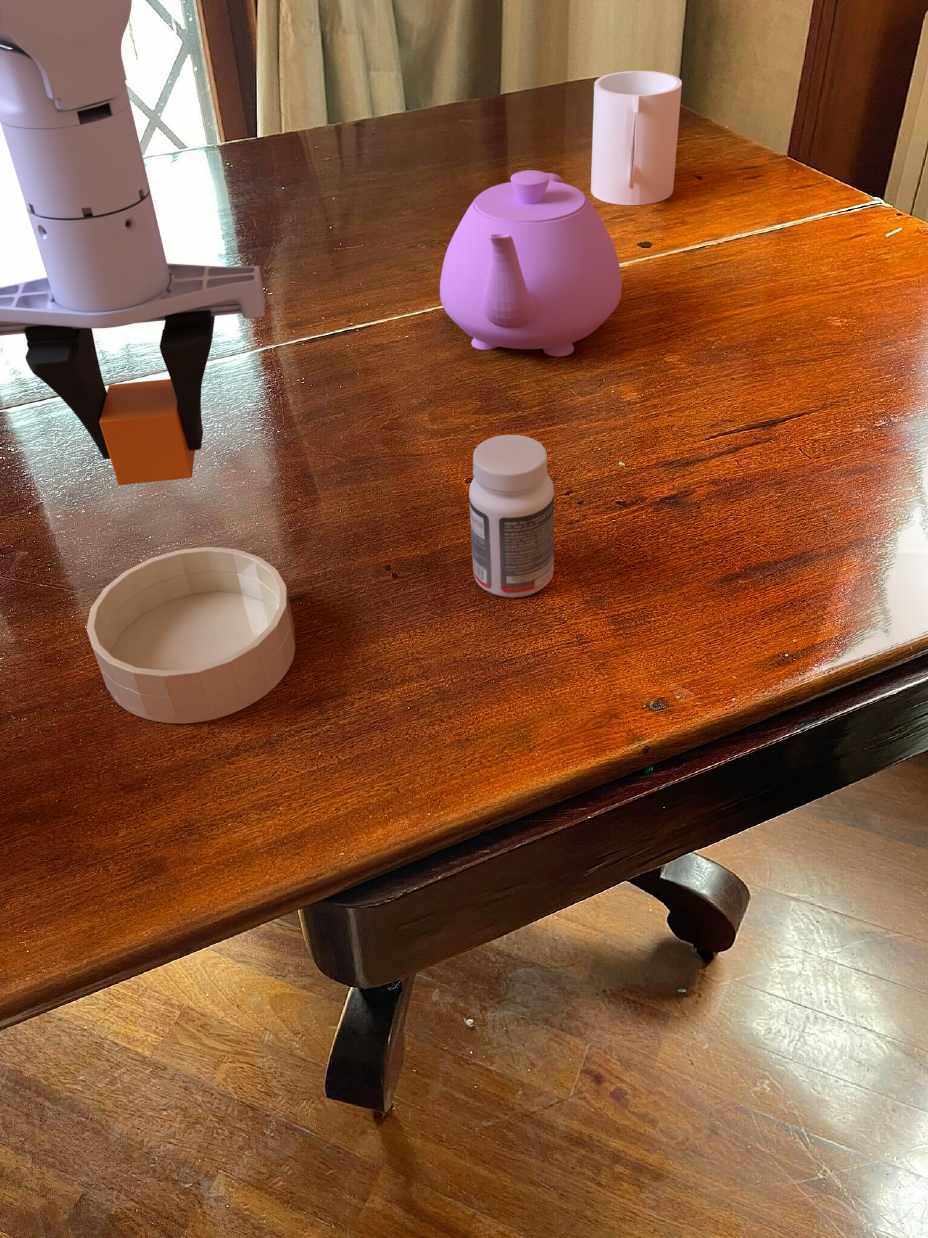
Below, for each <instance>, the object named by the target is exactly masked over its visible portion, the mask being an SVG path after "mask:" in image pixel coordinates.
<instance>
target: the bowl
mask: <svg viewBox="0 0 928 1238" xmlns="http://www.w3.org/2000/svg"><path fill="white" fill-rule="evenodd" d="M289 598H290V597H289V592H288V588H287V585H286V583H285V582H284V579H283V578H282V576H281V574H280V572H279V570H278V569H277V568H276V567H274V566H273V565H271V564H270V563H269V562H267V561H266V560H265V559H263V558H262V557H260V556H258V555H255V554H252V553H249V552H246V551H243V550H240V549H236V548H229V547H216V546H203V547H194V548H183V549H177V550H174V551H171V552H168V553H164V554H161V555H157V556H154V557H151V558H149V559H146V560H145V561H143V562H141V563H138V564H136V565H134V566H133V567H131V568H129V569H127V570H125V571H123V572H122V573H121V574H120V575H118V576H117V577H116V578H115V579H114V580H112V581H111V582H110V583H109V584H108V585H107V586H105V587H104V588H103V589H102V590H101V592H100V593H99V595H98V596H97V598H96V600H95V601H94V603H93V604H92V605H91V607H90V609H89V614H88V619H87V625H86V633H87V635H88V638H89V642H90V645H91V648H92V651H93V654H94V657H95V660H96V662H97V664H98V667H99V670H100V673H101V675H102V679H103V682H104V684H105V687H106V689H107V691H108V692H109V694H110V696H111V698H112V699H114V701H115V702H116V703H117V704H118V705H119V706H121V708H123V709H124V710H125V711H127V712H129V713H130V714H132V715H134V716H137V717H139V718H142V719H144V720H148V721H153V722H156V723H163V724H181V725H183V724H195V723H202V722H203V723H204V722H209V721H212V720H213V721H214V720H216V719H219V718H220V719H221V718H224V717H226V716H229V715H232V714H235V713H237V712H239V711H242V710H243V709H246V708H247V707H250V706H251V705H253V704H254V703H256V702H258V701H259V700H261V699H262V698H264V697H265V696H266V695H268V694H269V693H270V692H271V691H272V690H273V689H274V688H275V687H277V685H279V683H280V682H281V681H282V680H283V679H284V677H285V676H286V674H287V673H288V672H289V669H290V667H291V665H292V663H293V661H294V657H295V653H296V644H297V642H296V633H295V624H294V618H293V614H292V609H291V602H290V599H289Z"/></svg>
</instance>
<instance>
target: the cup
mask: <svg viewBox="0 0 928 1238" xmlns="http://www.w3.org/2000/svg"><path fill="white" fill-rule="evenodd" d="M682 86H683V82H682V79H680V78H679V77H678V76H675V75H673V74H670V73H667V72H661V71H653V70H626V71H618V72H612V73H608V74H605V75H602V76H600V77H598V78H597V79H596V80H595V81H594V83H593V115H592V143H591V169H590V170H591V171H590V173H591V174H590V193H591V195H592V196H593V197H594V198H596V199H597V200H599V201H601V202H604V203H609V204H613V205H618V206H644V205H652V204H656V203H659V202H663V201H665V200H666V199H668V198H670V197H671V196H672V194H673V193H674V185H675V184H674V183H675V171H676V162H677V161H676V159H677V148H678V147H677V146H678V137H679V136H678V135H679V123H680V112H681V111H680V109H681V99H682V98H681V97H682Z"/></svg>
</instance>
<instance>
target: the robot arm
mask: <svg viewBox="0 0 928 1238" xmlns="http://www.w3.org/2000/svg"><path fill="white" fill-rule="evenodd" d="M132 4H133V0H0V126H1V130H2V132H3V135H4V139H5V141H6V145H7V148H8V152H9V155H10V158H11V162H12V165H13V168H14V171H15V175H16V179H17V181H18V185H19V188H20V191H21V195H22V198H23V201H24V204H25V208H26V212H27V215H28V218H29V222H30V225H31V227H32V232H33V235H34V238H35V241H36V244H37V248H38V251H39V254H40V257H41V259H42V264H43V268H44V271H45V274H46V276H45V277H40V278H35V279H33V280H27V281H22V282H17V283H14V284H9V285H6V286H1V287H0V337H3V336H13V335H22V334H23V335H25V339H26V346H27V352H26V354H25V361H26V364H27V365H28V367H29V369H30V371H31V372H32V374H33V375H34V376H36V377H37V378H38V379H40V380H41V381H42V382H43V383H45V384H46V385H47V386H48V387H49V388H50V389H51V390H52V391H53V392H54V393H55V394H56V395H57V396H59V398H60V399H61V400H62V401H63V402H64V403H65V404H66V405H67V406H68V407H69V409H70V410H71V411H72V412H73V413H74V415H75V416H76V417H77V419H78V420H79V421H80V422H81V424H82V425H83V427H84V428H85V430H86V431H87V433H88V434H89V436H90V437H91V439H92V440H93V442H94V443H95V445H96V447H97V449H98V450H99V453H100V455H101V456H102V458H103V459H104V460H111V459H110V456H109V452H108V449H107V446H106V442H105V439H104V436H103V432H102V429H101V426H100V418H101V414H102V410H103V406H104V402H105V399H106V395H107V391H108V390H107V389H106V386H105V382H104V379H103V375H102V370H101V366H100V363H99V358H98V357H99V356H98V353H97V348H96V342H95V338H94V333H93V329H111V328H118V327H123V326H129V325H133V324H142V323H143V324H144V323H151V322H152V323H153V322H154V323H155V322H163V321H164V326H163V329H162V330H161V331H162V332H161V337H160V342H159V350H160V354H161V357H162V359H163V361H164V365H165V367H166V370H167V373H168V376H169V379H171V382H172V385H173V388H174V391H175V395H176V398H177V402H178V406H179V412H180V418H181V424H182V429H183V433H184V436H185V439H186V443H187V446H188V449H189V451H192V450H195V451H200V450H201V449H202V444H203V436H204V429H203V421H202V386H203V379H204V375H205V371H206V367H207V363H208V359H209V355H210V351H211V348H212V344H213V336H214V328H215V321H216V319H215V318H216V316H217V317H218V316H229V315H240V314H241V316H242V317H243V318H244V319H259V318H264V317H265V311H266V299H265V293H264V287H263V286H264V285H263V281H262V275H261V270H260V266H259V265H249V266H248V265H246V266H217V265H199V264H185V263H184V264H183V263H170V262H169V263H167V262H168V261H167V258H166V253H165V249H164V244H163V240H162V235H161V232H160V227H159V223H158V218H157V214H156V210H155V204H154V201H153V196H152V191H151V188H150V187H151V186H150V183H149V180H148V174H147V170H146V166H145V162H144V157H143V152H142V148H141V144H140V140H139V136H138V131H137V126H136V122H135V118H134V113H133V109H132V104H131V100H130V96H129V92H128V87H127V84H126V81H127V75H126V71H125V70H126V69H125V66H124V61H123V56H122V55H123V54H122V42H123V39H124V34H125V31H126V29H127V27H128V23H129V21H130V17H131V12H132Z"/></svg>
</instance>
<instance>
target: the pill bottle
mask: <svg viewBox="0 0 928 1238" xmlns="http://www.w3.org/2000/svg"><path fill="white" fill-rule="evenodd" d="M547 453H548V452H547V449H546V447H545V446H544V445H543V444H542V443H541V442H540V441H538V440H536V439H534V438H532V437H529V436H525V435H521V434H502V435H496V436H493V437H490V438H487V439H485V440H483V441H482V442H481V443H479V444H477V446H476V447H475V448H474V451H473V453H472V474H473V479H472V480H471V482H470V485H469V488H468V503H469V518H470V520H469V521H470V522H469V523H470V537H471V538H470V539H471V556H472V559H471V560H472V572H473V577H474V579H475V582H476V584H478V586H479V587H480V588H482V589H483V590H484V591H486V592H488V593H490V594H493V595H495V596H499V597H503V598H511V599H513V598H514V599H515V598H523V597H528V596H531V595H533V594H535V593H537V592H539V591H541V590H542V589H544V588H545V587H547V585H548V584H549V583H550V582H551V581H552V578H553V576H554V570H555V569H554V568H555V557H554V556H555V550H554V549H555V533H554V532H555V489H554V483H553V481H552V478H551V477H550V475H548V454H547Z"/></svg>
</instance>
